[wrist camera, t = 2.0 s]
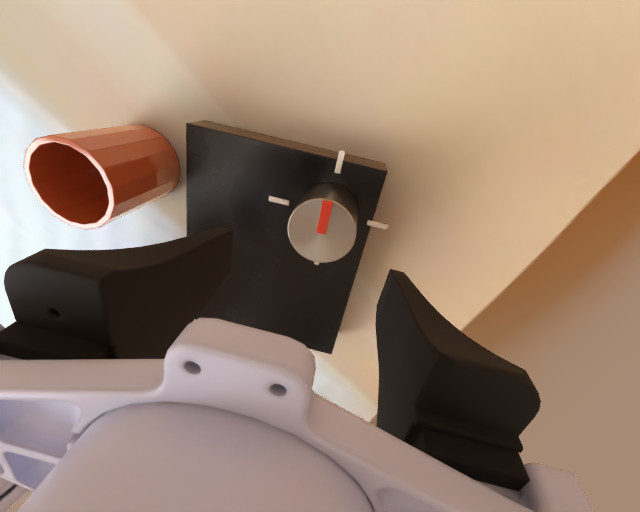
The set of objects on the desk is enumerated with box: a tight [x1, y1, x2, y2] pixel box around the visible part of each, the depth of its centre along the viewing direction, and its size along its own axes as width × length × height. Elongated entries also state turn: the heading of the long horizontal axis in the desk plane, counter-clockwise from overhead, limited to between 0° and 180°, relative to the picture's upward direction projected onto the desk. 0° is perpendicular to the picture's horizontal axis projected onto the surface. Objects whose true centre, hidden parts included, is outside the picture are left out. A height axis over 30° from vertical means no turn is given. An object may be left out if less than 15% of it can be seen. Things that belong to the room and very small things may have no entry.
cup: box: [24, 125, 180, 229], centre depth 21 cm, size 5×5×7 cm
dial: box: [287, 183, 358, 263], centre depth 19 cm, size 4×4×4 cm
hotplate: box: [186, 121, 389, 354], centre depth 24 cm, size 17×14×3 cm
